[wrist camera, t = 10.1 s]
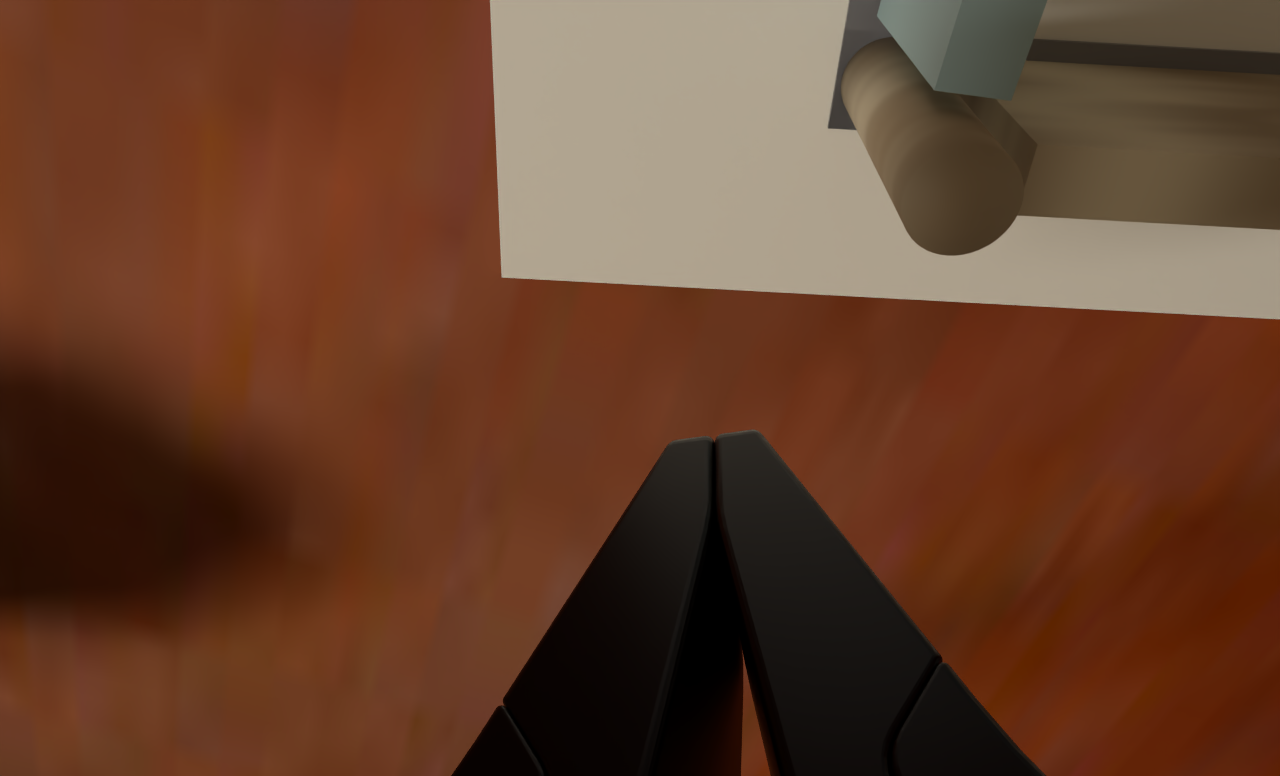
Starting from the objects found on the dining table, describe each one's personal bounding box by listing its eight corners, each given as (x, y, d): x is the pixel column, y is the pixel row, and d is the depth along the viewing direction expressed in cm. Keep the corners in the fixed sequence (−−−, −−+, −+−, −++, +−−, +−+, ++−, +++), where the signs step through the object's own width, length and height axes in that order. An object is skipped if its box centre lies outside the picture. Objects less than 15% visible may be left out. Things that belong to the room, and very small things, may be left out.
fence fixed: (1485, 70, 18) (1784, 189, 14) (1436, 156, 19) (1696, 296, 15) (848, 33, 18) (916, 140, 13) (833, 122, 19) (890, 253, 14)
